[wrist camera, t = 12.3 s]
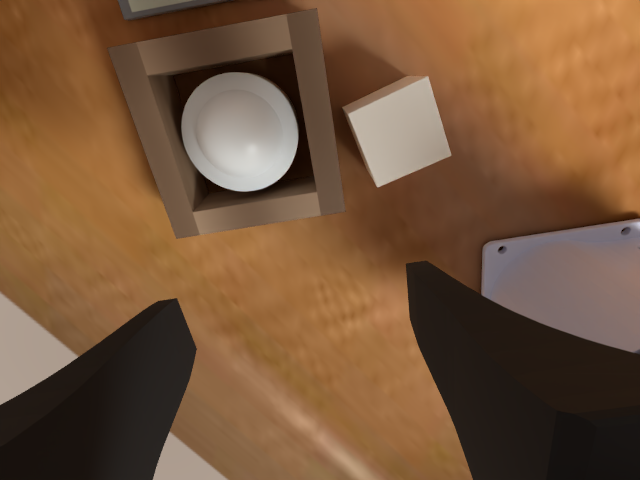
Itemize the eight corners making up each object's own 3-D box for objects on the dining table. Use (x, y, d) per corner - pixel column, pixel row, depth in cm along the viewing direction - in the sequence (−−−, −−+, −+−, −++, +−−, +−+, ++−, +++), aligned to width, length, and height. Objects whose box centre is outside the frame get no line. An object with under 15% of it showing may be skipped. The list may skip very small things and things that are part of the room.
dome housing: (316, 19, 17) (316, 8, 14) (341, 193, 20) (345, 211, 17) (139, 52, 17) (106, 47, 14) (194, 216, 20) (176, 238, 18)
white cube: (407, 75, 18) (428, 76, 15) (428, 141, 19) (451, 155, 16) (341, 107, 18) (347, 114, 15) (366, 169, 20) (377, 187, 16)
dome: (288, 63, 17) (282, 60, 14) (307, 169, 19) (306, 191, 16) (183, 82, 18) (150, 84, 14) (214, 185, 20) (192, 209, 16)
